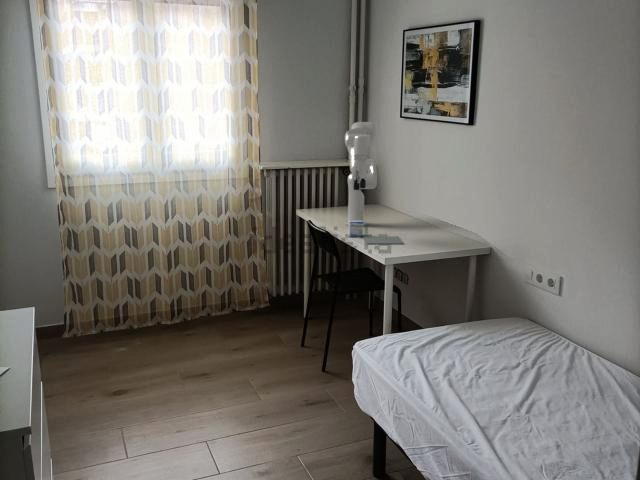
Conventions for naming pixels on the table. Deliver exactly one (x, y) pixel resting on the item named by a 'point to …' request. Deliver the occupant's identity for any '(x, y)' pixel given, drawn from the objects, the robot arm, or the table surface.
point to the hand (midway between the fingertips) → (359, 188)
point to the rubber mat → (383, 240)
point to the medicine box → (355, 228)
